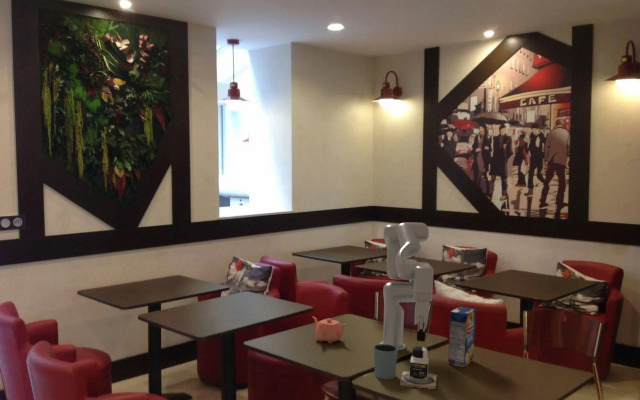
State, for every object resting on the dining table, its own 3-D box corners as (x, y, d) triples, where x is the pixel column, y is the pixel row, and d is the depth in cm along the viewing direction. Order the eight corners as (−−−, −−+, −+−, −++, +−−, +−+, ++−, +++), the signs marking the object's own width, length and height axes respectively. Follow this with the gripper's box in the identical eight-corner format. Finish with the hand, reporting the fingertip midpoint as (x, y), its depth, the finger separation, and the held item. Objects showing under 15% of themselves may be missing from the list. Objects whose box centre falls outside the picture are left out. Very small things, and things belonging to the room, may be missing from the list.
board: (403, 373, 249) (403, 368, 249) (436, 377, 246) (436, 372, 246) (399, 385, 235) (400, 381, 235) (435, 390, 232) (435, 385, 232)
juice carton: (457, 357, 272) (460, 306, 270) (473, 360, 268) (476, 309, 266) (447, 364, 262) (450, 311, 260) (464, 368, 258) (466, 314, 256)
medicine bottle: (409, 378, 238) (410, 349, 237) (410, 372, 245) (411, 344, 244) (427, 380, 237) (428, 351, 236) (427, 374, 243) (429, 346, 243)
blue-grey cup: (390, 382, 239) (391, 353, 238) (368, 376, 244) (369, 348, 244) (400, 374, 248) (401, 346, 247) (379, 369, 253) (380, 342, 252)
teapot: (346, 344, 285) (347, 322, 284) (317, 345, 282) (318, 323, 281) (338, 335, 299) (339, 314, 298) (311, 336, 296) (312, 315, 295)
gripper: (414, 291, 246) (412, 334, 247) (412, 299, 231) (410, 345, 233) (433, 293, 244) (430, 336, 246) (431, 301, 230) (429, 347, 231)
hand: (420, 340), depth 239 cm, fingers closed
